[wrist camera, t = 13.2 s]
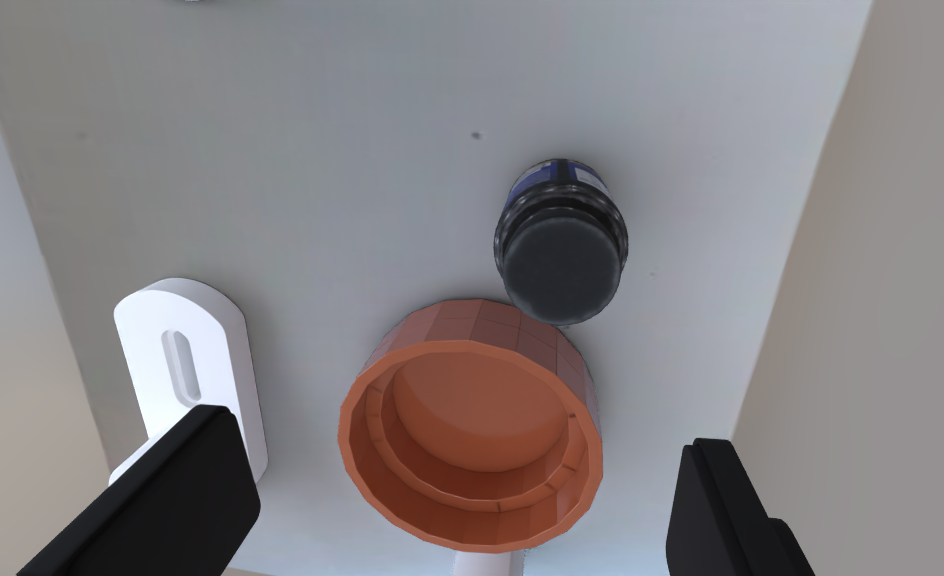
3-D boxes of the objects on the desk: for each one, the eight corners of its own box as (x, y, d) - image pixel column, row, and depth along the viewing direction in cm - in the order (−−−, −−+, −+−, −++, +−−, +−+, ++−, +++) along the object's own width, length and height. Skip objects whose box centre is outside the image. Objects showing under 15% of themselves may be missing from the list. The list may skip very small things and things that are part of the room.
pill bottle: (509, 256, 31) (486, 340, 21) (505, 158, 29) (477, 200, 19) (608, 255, 30) (635, 343, 20) (613, 154, 28) (646, 195, 17)
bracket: (273, 491, 43) (227, 558, 37) (184, 477, 44) (125, 540, 38) (238, 283, 35) (172, 326, 29) (131, 272, 36) (45, 311, 30)
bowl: (338, 420, 38) (302, 475, 33) (431, 252, 32) (405, 287, 26) (517, 518, 40) (511, 588, 34) (644, 376, 33) (662, 435, 27)
